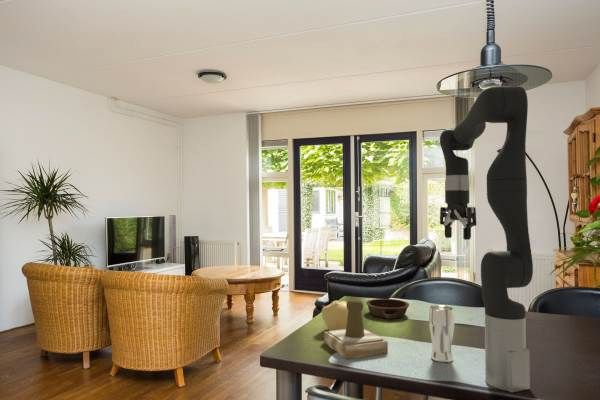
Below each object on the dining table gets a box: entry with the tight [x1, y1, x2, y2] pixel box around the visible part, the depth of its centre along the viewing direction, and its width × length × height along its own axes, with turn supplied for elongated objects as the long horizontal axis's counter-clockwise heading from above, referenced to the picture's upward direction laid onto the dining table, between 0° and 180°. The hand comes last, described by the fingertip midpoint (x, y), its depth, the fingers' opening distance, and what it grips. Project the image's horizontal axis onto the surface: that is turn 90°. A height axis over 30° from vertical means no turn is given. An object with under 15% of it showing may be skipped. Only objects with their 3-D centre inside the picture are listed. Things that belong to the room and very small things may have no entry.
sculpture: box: [321, 300, 348, 331], centre depth 151 cm, size 12×12×11 cm
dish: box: [365, 298, 410, 320], centre depth 175 cm, size 18×22×5 cm
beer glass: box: [428, 304, 455, 363], centre depth 123 cm, size 7×7×15 cm
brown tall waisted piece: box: [345, 299, 365, 338], centre depth 133 cm, size 6×6×11 cm
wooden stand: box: [323, 328, 389, 360], centre depth 133 cm, size 16×14×4 cm
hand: (457, 238), depth 139 cm, fingers open, 8 cm apart
